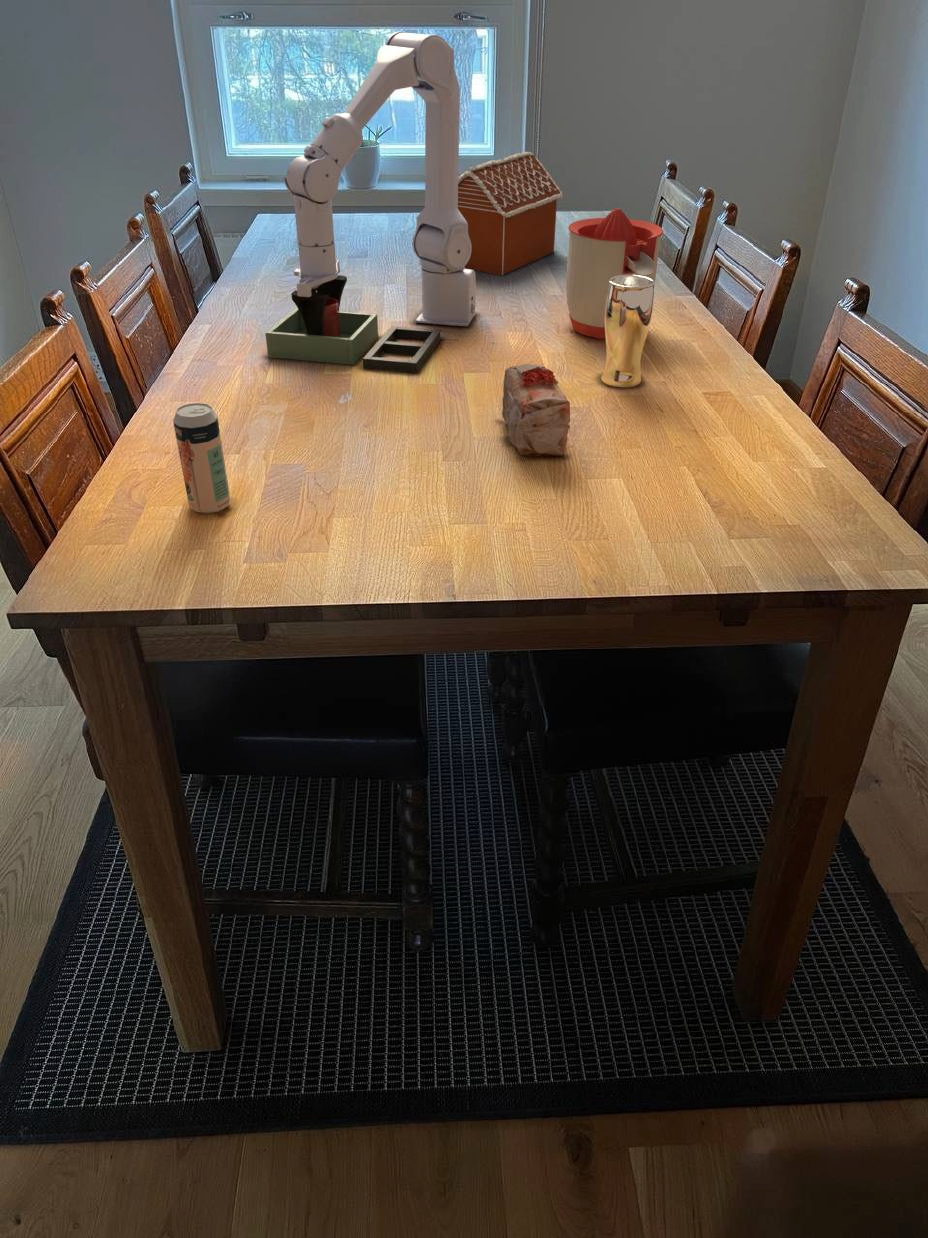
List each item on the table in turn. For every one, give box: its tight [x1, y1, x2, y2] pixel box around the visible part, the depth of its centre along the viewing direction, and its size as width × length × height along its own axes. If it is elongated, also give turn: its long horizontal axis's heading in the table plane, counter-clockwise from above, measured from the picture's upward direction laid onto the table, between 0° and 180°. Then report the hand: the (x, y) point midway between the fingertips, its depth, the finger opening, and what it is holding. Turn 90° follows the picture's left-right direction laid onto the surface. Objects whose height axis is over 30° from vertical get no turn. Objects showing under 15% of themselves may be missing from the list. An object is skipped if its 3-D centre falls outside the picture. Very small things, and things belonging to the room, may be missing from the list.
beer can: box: [172, 402, 232, 515], centre depth 104 cm, size 5×5×12 cm
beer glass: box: [600, 275, 656, 388], centre depth 137 cm, size 7×7×15 cm
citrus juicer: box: [565, 207, 664, 341], centre depth 155 cm, size 16×17×20 cm
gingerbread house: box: [458, 151, 564, 276], centre depth 194 cm, size 18×26×20 cm
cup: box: [306, 297, 341, 337], centre depth 150 cm, size 6×6×7 cm
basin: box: [264, 307, 379, 366], centre depth 151 cm, size 15×14×4 cm
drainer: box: [362, 325, 442, 373], centre depth 150 cm, size 9×16×2 cm, turn 168°
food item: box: [501, 363, 571, 457], centre depth 120 cm, size 14×8×10 cm, turn 10°
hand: (323, 329), depth 151 cm, fingers open, 7 cm apart
